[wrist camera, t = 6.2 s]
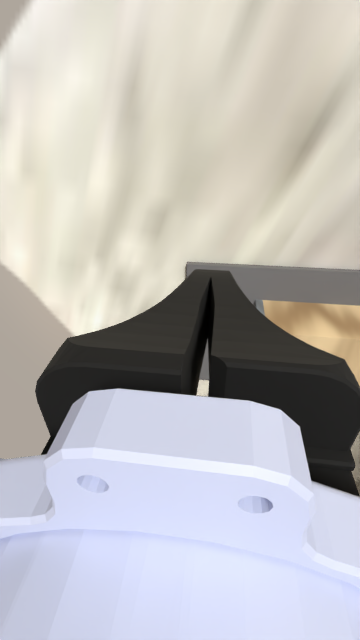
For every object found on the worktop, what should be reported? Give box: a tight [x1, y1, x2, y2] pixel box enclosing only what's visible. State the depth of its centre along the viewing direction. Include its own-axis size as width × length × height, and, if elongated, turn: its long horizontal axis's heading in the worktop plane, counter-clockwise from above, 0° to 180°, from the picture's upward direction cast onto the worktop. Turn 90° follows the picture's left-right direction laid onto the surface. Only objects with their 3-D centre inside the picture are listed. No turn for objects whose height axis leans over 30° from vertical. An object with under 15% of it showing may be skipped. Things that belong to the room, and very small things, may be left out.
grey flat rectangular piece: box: [187, 262, 360, 380], centre depth 25 cm, size 15×11×1 cm
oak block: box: [255, 300, 360, 386], centre depth 23 cm, size 4×6×8 cm
